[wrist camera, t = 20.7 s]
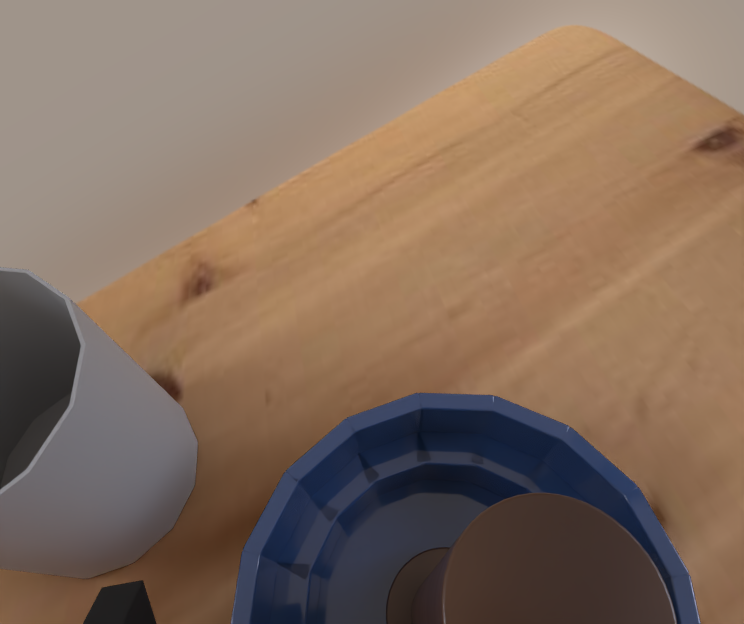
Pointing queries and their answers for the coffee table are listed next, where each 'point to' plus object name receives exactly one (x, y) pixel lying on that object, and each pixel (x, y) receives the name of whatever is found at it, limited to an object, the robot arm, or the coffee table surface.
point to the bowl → (420, 504)
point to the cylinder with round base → (534, 571)
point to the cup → (81, 441)
